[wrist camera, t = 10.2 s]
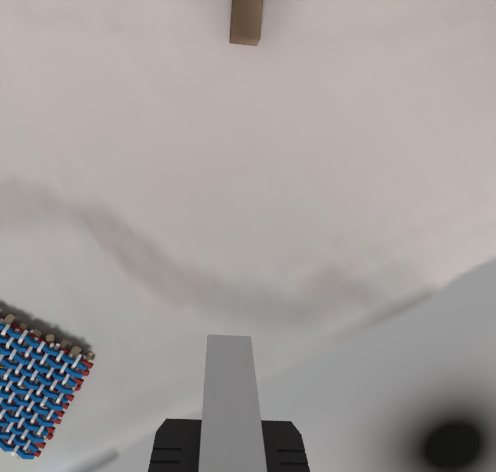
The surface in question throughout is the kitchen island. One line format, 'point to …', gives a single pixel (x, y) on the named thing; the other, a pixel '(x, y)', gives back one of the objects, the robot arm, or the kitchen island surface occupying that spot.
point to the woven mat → (34, 386)
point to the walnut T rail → (246, 22)
